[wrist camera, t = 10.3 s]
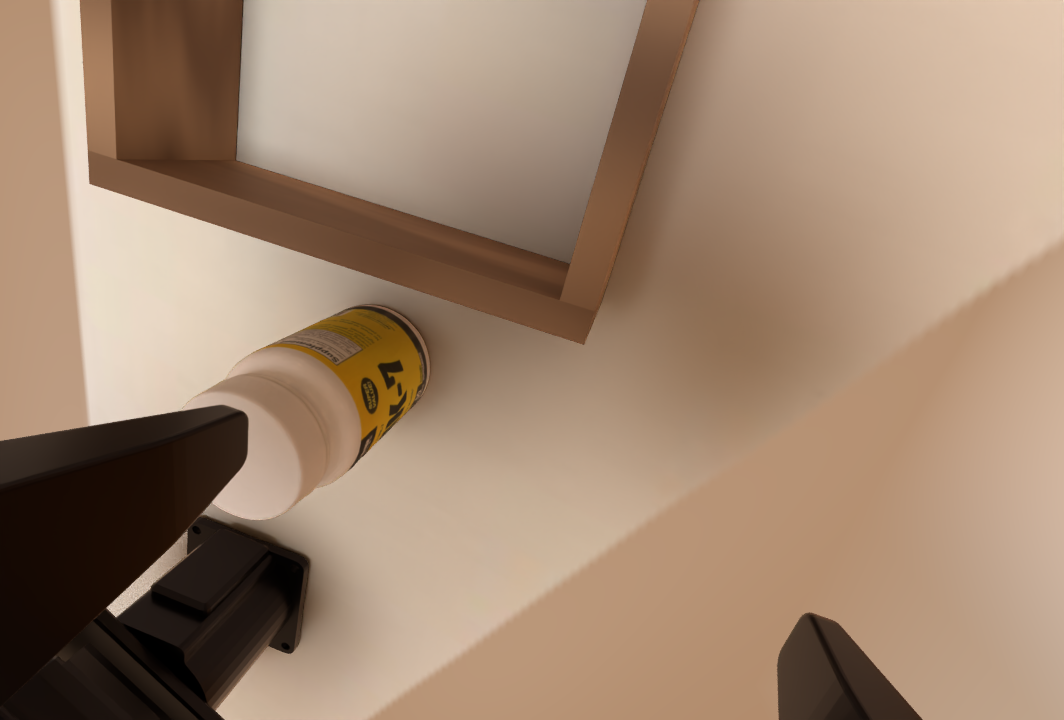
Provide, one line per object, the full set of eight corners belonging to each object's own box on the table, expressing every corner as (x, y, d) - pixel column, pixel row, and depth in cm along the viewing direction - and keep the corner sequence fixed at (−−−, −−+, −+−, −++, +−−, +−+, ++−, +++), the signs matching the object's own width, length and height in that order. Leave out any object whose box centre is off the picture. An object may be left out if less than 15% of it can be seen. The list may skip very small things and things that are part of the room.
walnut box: (601, 302, 20) (583, 344, 15) (211, 179, 21) (89, 183, 17) (730, -99, 15) (763, -213, 11) (223, -215, 17) (60, -357, 12)
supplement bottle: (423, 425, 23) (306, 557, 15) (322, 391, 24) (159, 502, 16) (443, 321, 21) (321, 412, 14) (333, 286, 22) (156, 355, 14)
